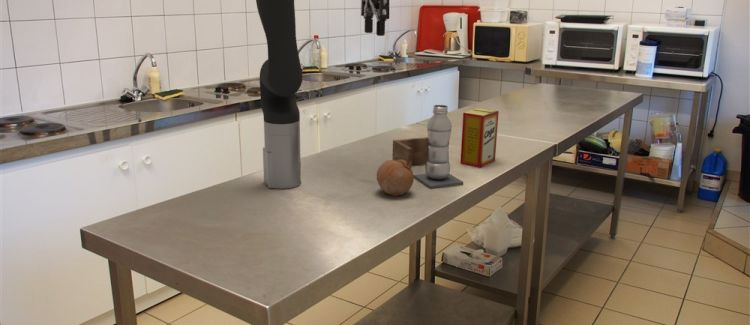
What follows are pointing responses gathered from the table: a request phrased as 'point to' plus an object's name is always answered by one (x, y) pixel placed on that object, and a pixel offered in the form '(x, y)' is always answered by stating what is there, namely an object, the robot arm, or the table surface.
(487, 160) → the baking soda box
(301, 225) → the table surface
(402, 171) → the onion
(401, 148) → the walnut rack
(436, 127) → the plastic bottle
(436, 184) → the rubber mat
